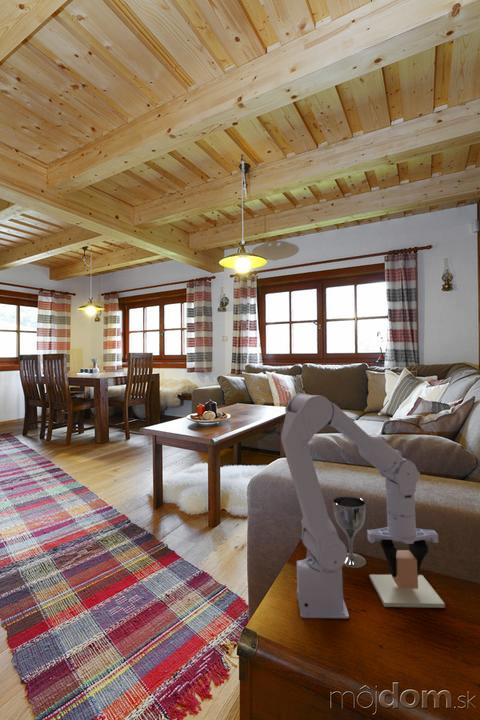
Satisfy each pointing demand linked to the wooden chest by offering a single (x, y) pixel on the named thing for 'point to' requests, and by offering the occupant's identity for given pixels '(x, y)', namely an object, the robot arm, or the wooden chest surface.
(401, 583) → the block
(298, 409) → the robot arm
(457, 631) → the wooden chest surface
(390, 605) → the mat
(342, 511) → the wine glass
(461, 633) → the wooden chest surface
